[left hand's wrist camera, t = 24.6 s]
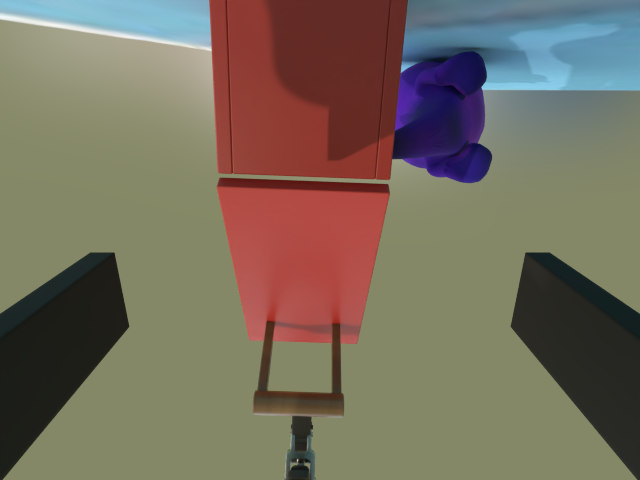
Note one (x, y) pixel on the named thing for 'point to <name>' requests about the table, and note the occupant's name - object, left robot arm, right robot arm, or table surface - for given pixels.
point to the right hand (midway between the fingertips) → (300, 437)
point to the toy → (443, 118)
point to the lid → (302, 271)
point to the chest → (306, 86)
